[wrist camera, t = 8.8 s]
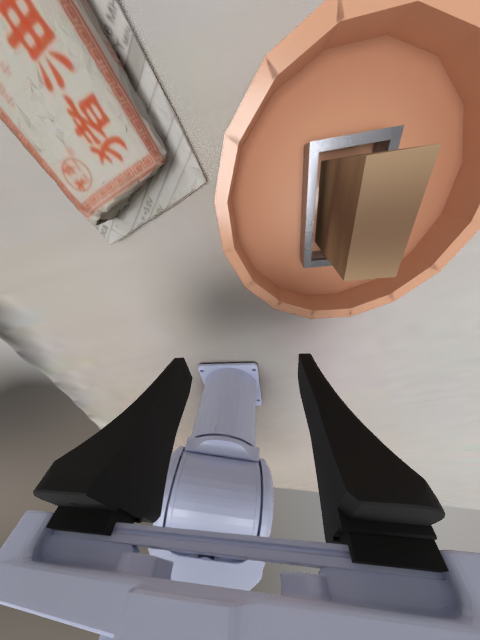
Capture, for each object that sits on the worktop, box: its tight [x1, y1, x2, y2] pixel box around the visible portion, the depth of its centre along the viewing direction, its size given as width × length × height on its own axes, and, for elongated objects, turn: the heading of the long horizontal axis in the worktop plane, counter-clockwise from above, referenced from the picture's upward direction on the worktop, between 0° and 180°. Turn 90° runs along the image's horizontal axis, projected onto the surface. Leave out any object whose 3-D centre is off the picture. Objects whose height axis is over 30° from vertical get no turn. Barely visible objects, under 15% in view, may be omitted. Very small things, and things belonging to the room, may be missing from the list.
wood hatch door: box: [315, 143, 442, 281], centre depth 11 cm, size 5×2×7 cm, turn 8°
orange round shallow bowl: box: [214, 0, 480, 319], centre depth 14 cm, size 16×16×4 cm
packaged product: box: [0, 0, 207, 245], centre depth 11 cm, size 18×5×10 cm
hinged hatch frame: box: [300, 125, 404, 268], centre depth 13 cm, size 7×5×2 cm, turn 8°
